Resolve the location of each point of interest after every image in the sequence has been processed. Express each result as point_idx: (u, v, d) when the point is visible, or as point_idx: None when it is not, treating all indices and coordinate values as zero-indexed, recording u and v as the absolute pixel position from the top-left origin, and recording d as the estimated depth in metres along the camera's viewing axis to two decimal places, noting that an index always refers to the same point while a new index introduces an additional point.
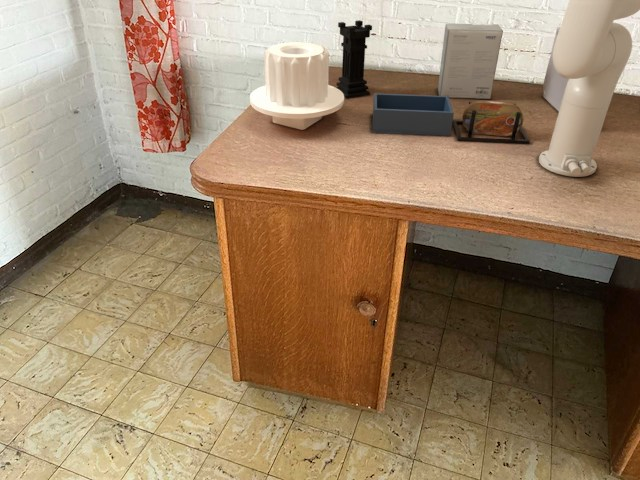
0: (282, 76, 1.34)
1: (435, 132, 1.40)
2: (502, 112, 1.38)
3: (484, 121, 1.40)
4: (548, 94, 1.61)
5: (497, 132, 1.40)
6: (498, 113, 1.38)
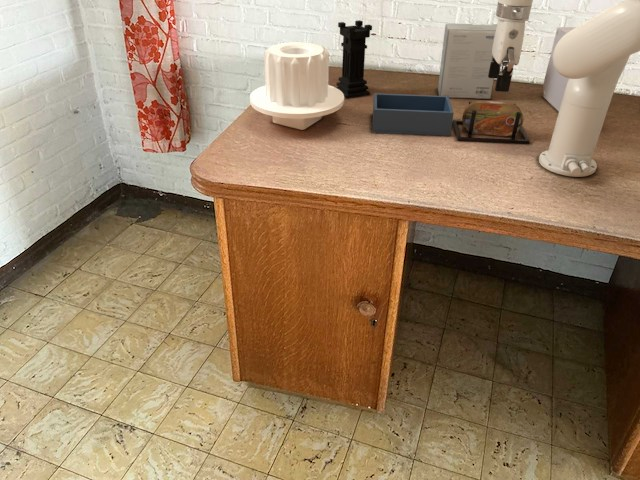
0: (282, 76, 1.34)
1: (435, 132, 1.40)
2: (502, 112, 1.38)
3: (484, 121, 1.40)
4: (548, 94, 1.61)
5: (497, 132, 1.40)
6: (498, 113, 1.38)
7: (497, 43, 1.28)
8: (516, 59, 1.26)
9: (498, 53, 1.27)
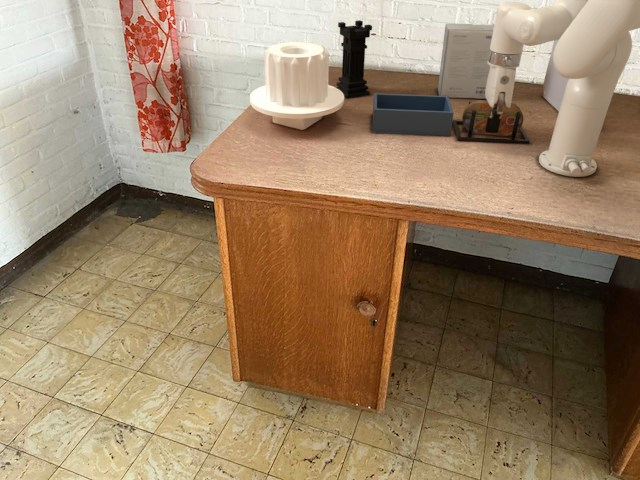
0: (282, 76, 1.34)
1: (435, 132, 1.40)
2: None
3: (484, 121, 1.40)
4: (548, 94, 1.61)
5: None
6: None
7: (489, 87, 1.34)
8: (508, 103, 1.32)
9: (490, 97, 1.33)
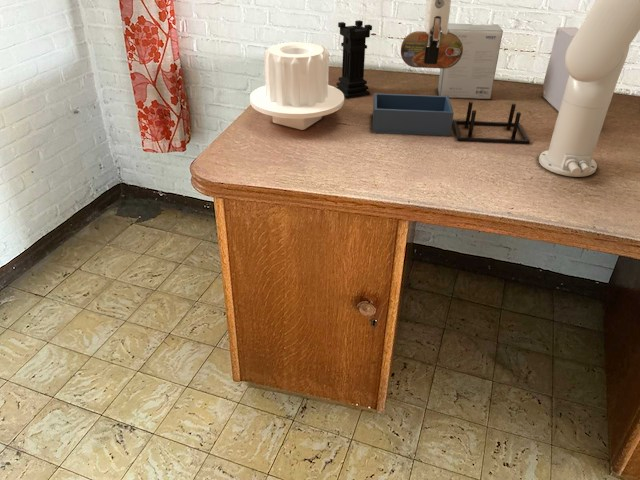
0: (282, 76, 1.34)
1: (435, 132, 1.40)
2: (441, 42, 1.32)
3: (423, 53, 1.34)
4: (548, 94, 1.61)
5: (436, 64, 1.35)
6: None
7: (426, 13, 1.28)
8: (444, 29, 1.26)
9: (427, 23, 1.27)
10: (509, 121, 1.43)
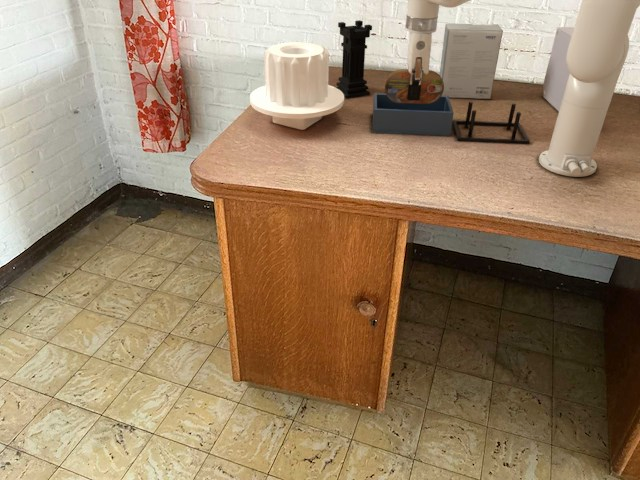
0: (282, 76, 1.34)
1: (435, 132, 1.40)
2: (423, 80, 1.38)
3: (406, 89, 1.40)
4: (548, 94, 1.61)
5: (419, 100, 1.41)
6: None
7: (408, 53, 1.34)
8: (425, 69, 1.32)
9: (409, 63, 1.33)
10: (509, 121, 1.43)
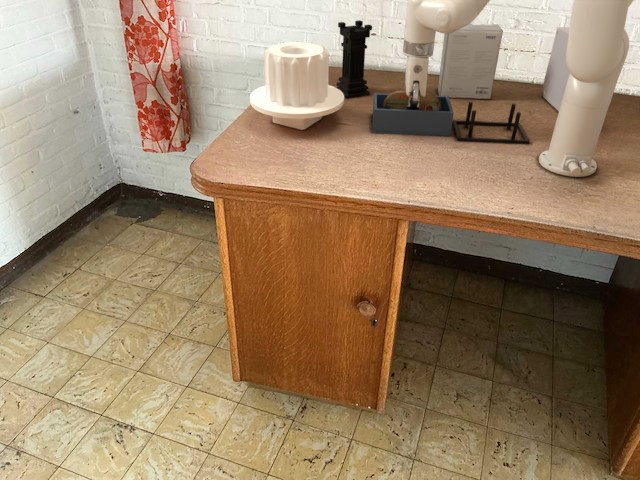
0: (282, 76, 1.34)
1: (435, 132, 1.40)
2: (420, 101, 1.41)
3: None
4: (548, 94, 1.61)
5: None
6: None
7: (406, 76, 1.37)
8: (422, 91, 1.35)
9: (406, 86, 1.36)
10: (509, 121, 1.43)
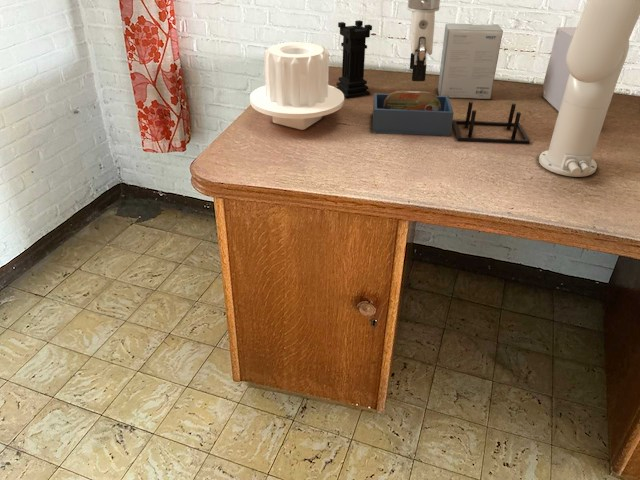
0: (282, 76, 1.34)
1: (435, 132, 1.40)
2: (420, 101, 1.41)
3: None
4: (548, 94, 1.61)
5: None
6: (417, 102, 1.42)
7: (411, 34, 1.31)
8: (429, 49, 1.29)
9: (412, 43, 1.30)
10: (509, 121, 1.43)
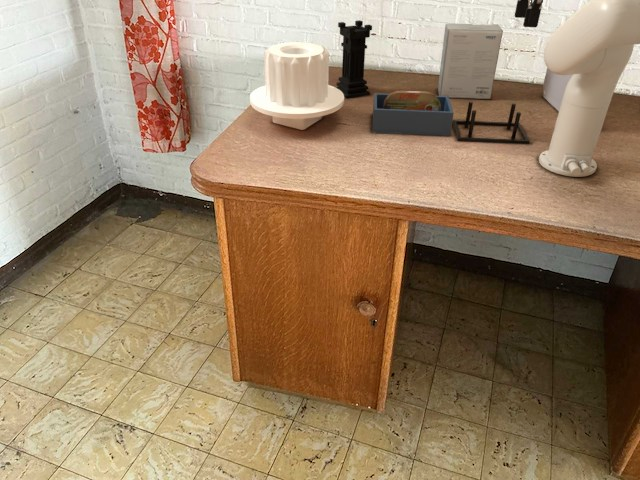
0: (282, 76, 1.34)
1: (435, 132, 1.40)
2: (420, 101, 1.41)
3: None
4: (548, 94, 1.61)
5: None
6: (417, 102, 1.42)
7: None
8: None
9: None
10: (509, 121, 1.43)
